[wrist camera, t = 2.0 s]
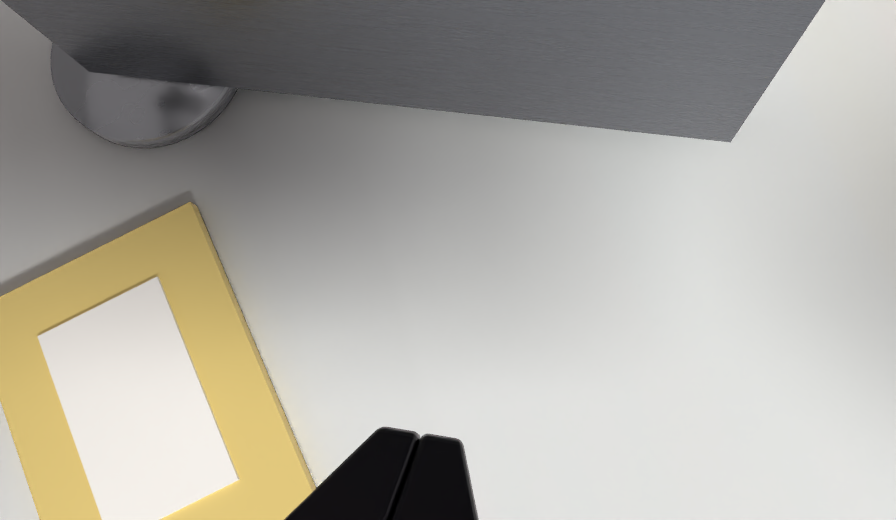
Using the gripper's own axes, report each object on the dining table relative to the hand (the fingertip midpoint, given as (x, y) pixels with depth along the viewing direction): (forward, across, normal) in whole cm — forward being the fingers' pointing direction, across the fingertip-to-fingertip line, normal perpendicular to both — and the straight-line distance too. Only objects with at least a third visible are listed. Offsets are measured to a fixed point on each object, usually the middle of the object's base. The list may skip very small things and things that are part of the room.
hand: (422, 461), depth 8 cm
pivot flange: (+13, +10, +1) cm, 17 cm away
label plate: (+7, +8, +8) cm, 13 cm away
